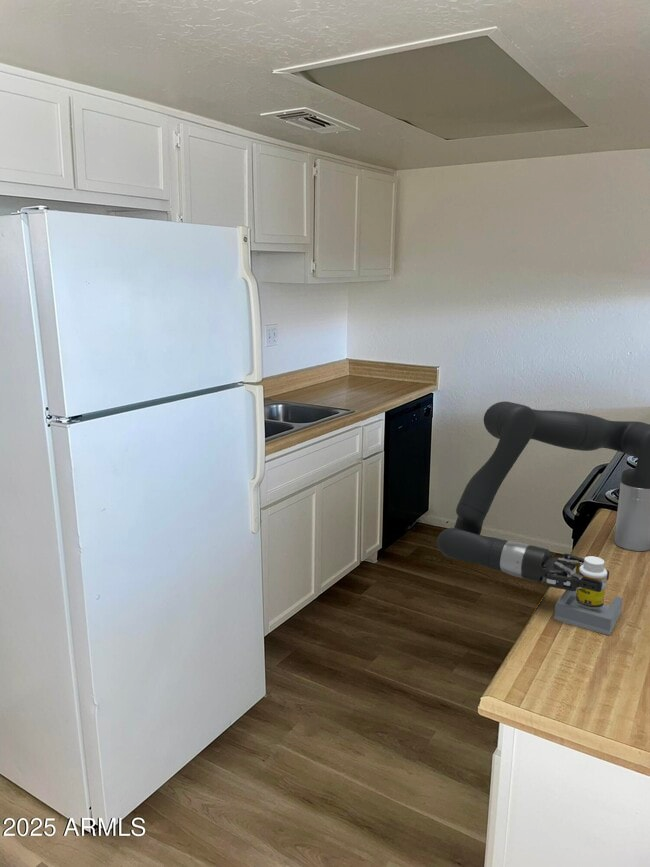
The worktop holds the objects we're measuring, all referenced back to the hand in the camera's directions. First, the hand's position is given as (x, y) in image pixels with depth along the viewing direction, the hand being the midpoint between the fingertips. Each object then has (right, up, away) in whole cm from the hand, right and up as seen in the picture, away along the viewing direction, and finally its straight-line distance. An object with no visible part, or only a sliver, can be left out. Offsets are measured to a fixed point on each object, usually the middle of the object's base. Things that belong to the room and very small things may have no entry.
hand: (604, 581), depth 137 cm
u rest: (-2, -8, +3) cm, 9 cm away
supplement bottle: (-2, -6, +3) cm, 7 cm away
